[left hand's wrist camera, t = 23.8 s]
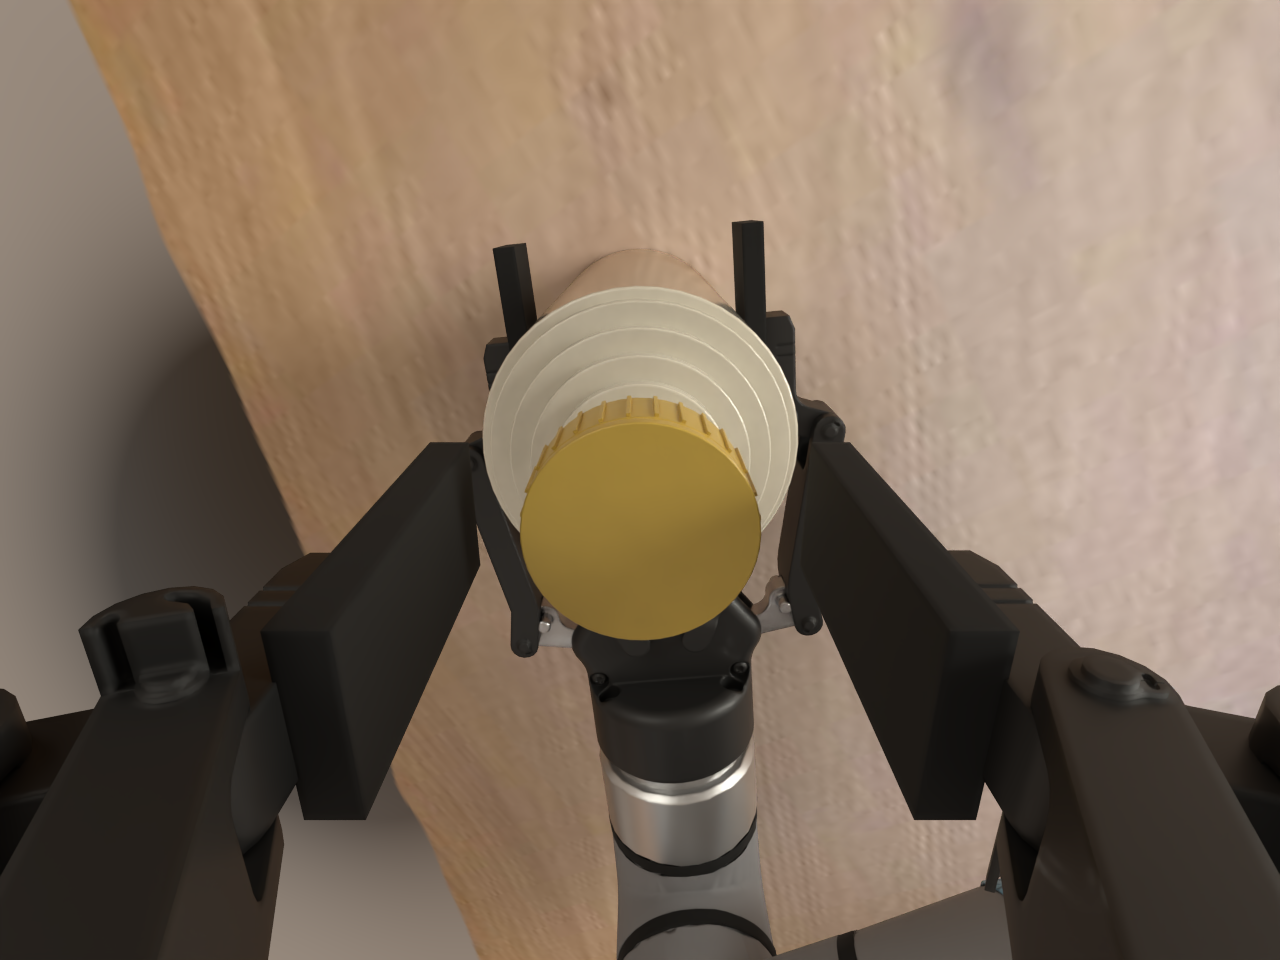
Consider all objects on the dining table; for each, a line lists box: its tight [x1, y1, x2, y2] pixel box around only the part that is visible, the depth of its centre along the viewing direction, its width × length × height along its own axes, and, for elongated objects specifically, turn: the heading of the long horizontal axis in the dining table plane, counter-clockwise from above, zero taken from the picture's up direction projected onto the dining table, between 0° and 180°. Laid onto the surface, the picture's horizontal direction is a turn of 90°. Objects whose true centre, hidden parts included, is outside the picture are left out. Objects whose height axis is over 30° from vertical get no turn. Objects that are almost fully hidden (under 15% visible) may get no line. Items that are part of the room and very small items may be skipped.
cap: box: [520, 396, 761, 640], centre depth 13 cm, size 4×4×2 cm
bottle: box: [482, 249, 798, 532], centre depth 23 cm, size 8×8×21 cm
